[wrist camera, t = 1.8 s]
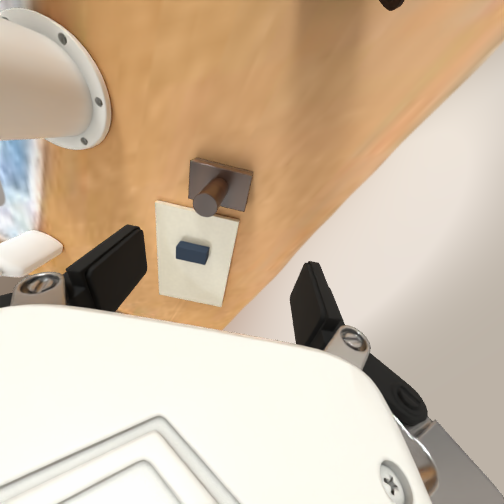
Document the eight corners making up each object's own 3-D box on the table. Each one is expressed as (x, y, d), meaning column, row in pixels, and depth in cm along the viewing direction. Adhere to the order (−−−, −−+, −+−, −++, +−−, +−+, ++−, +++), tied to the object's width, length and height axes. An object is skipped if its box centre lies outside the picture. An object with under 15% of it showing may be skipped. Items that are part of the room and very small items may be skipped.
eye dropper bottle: (54, 256, 38) (-23, 303, 28) (26, 232, 35) (-69, 275, 25) (68, 249, 37) (-6, 295, 27) (41, 223, 34) (-53, 264, 24)
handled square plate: (194, 192, 30) (166, 218, 21) (196, 157, 27) (166, 171, 19) (246, 205, 30) (238, 235, 22) (253, 171, 27) (247, 191, 19)
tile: (161, 291, 41) (159, 294, 41) (157, 200, 31) (154, 202, 30) (222, 303, 42) (221, 307, 41) (239, 219, 31) (239, 222, 31)
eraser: (179, 252, 34) (175, 258, 33) (180, 240, 33) (175, 246, 31) (208, 258, 35) (205, 265, 33) (209, 246, 33) (206, 253, 32)
